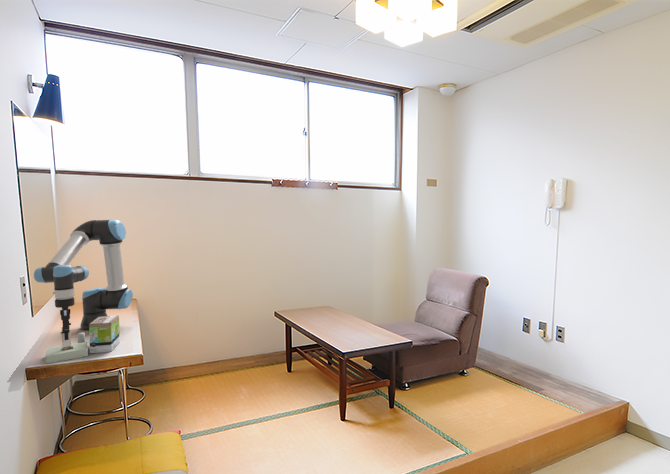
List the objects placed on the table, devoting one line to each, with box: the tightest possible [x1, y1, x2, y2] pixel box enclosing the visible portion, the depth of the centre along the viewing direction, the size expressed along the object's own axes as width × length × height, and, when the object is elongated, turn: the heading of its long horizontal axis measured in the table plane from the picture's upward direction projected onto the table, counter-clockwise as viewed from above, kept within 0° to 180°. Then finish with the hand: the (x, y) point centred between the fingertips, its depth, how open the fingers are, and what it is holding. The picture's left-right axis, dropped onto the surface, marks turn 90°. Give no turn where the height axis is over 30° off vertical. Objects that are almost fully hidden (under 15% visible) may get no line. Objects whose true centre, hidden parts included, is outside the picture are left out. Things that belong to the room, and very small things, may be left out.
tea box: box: [88, 315, 121, 354], centre depth 192 cm, size 15×10×15 cm, turn 17°
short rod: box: [77, 331, 86, 343], centre depth 194 cm, size 3×3×7 cm
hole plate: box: [45, 341, 89, 364], centre depth 182 cm, size 16×12×4 cm
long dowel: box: [61, 325, 72, 351], centre depth 181 cm, size 3×3×14 cm
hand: (66, 342), depth 182 cm, fingers open, 12 cm apart
